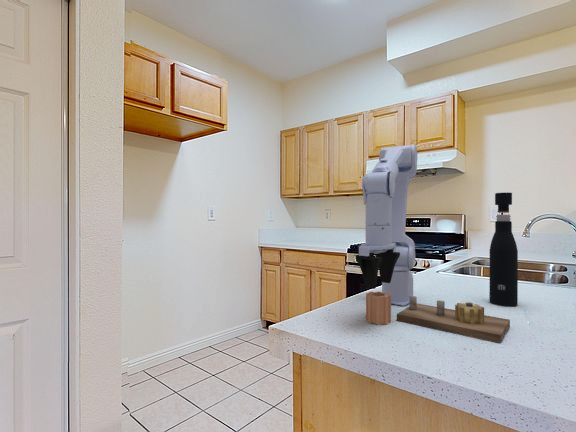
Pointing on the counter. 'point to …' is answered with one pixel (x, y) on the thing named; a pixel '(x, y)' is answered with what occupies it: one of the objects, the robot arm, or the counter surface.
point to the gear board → (456, 319)
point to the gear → (378, 308)
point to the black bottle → (503, 257)
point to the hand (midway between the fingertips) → (378, 285)
